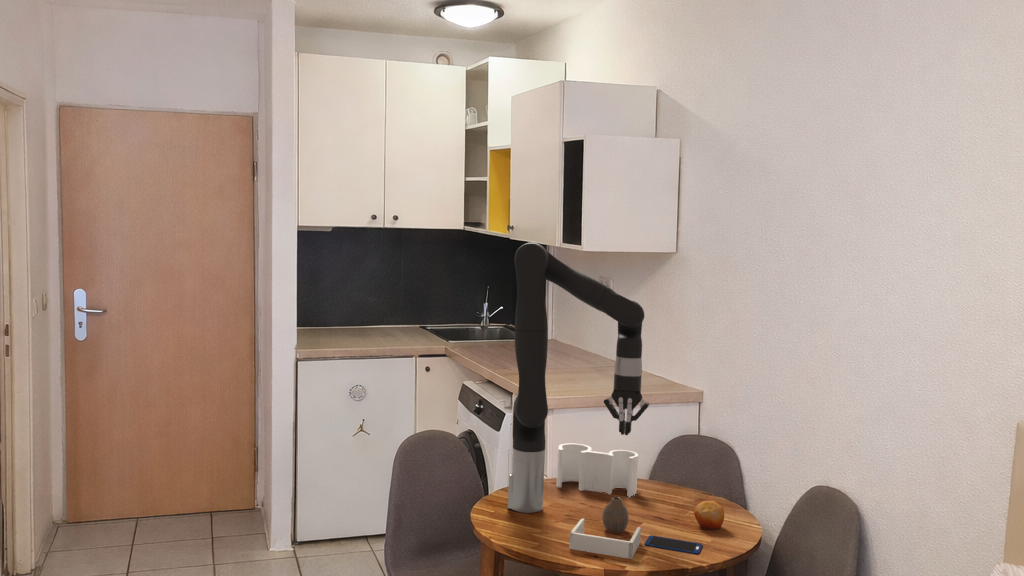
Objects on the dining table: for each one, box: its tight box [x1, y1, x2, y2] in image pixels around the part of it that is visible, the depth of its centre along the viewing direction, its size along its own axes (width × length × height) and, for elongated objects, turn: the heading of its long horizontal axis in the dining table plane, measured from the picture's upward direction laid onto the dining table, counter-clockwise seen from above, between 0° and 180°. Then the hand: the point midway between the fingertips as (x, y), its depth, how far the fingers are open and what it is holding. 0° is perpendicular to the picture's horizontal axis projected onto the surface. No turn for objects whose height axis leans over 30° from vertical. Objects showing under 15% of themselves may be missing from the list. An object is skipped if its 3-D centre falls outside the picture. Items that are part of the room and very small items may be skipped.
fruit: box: [693, 500, 725, 530], centre depth 225 cm, size 8×8×8 cm
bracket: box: [556, 442, 639, 498], centre depth 255 cm, size 25×10×12 cm, turn 70°
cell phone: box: [643, 535, 703, 556], centre depth 210 cm, size 7×14×1 cm, turn 69°
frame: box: [568, 518, 642, 560], centre depth 207 cm, size 16×12×4 cm
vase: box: [601, 496, 629, 534], centre depth 218 cm, size 7×7×9 cm
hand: (624, 434), depth 230 cm, fingers closed
